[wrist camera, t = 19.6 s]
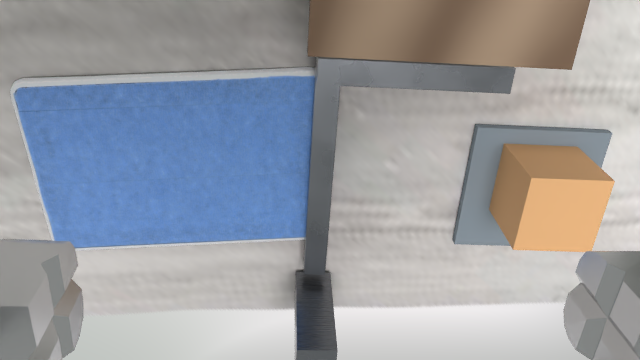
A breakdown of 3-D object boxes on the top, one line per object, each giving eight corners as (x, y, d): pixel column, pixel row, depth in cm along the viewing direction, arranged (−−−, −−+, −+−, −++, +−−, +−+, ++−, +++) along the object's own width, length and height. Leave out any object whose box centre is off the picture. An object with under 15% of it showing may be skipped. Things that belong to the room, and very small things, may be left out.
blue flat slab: (324, 63, 36) (325, 69, 35) (327, 233, 42) (328, 243, 41) (12, 74, 36) (2, 81, 35) (59, 244, 41) (52, 255, 40)
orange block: (488, 209, 40) (513, 249, 36) (503, 143, 38) (531, 178, 33) (558, 211, 40) (591, 252, 36) (577, 146, 38) (614, 181, 34)
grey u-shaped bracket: (294, 298, 43) (294, 379, 36) (308, 44, 35) (311, 86, 28) (447, 302, 44) (477, 382, 37) (498, 54, 35) (550, 97, 28)
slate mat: (452, 239, 42) (454, 244, 41) (475, 123, 38) (478, 127, 37) (572, 243, 42) (576, 247, 42) (607, 129, 38) (612, 133, 38)
